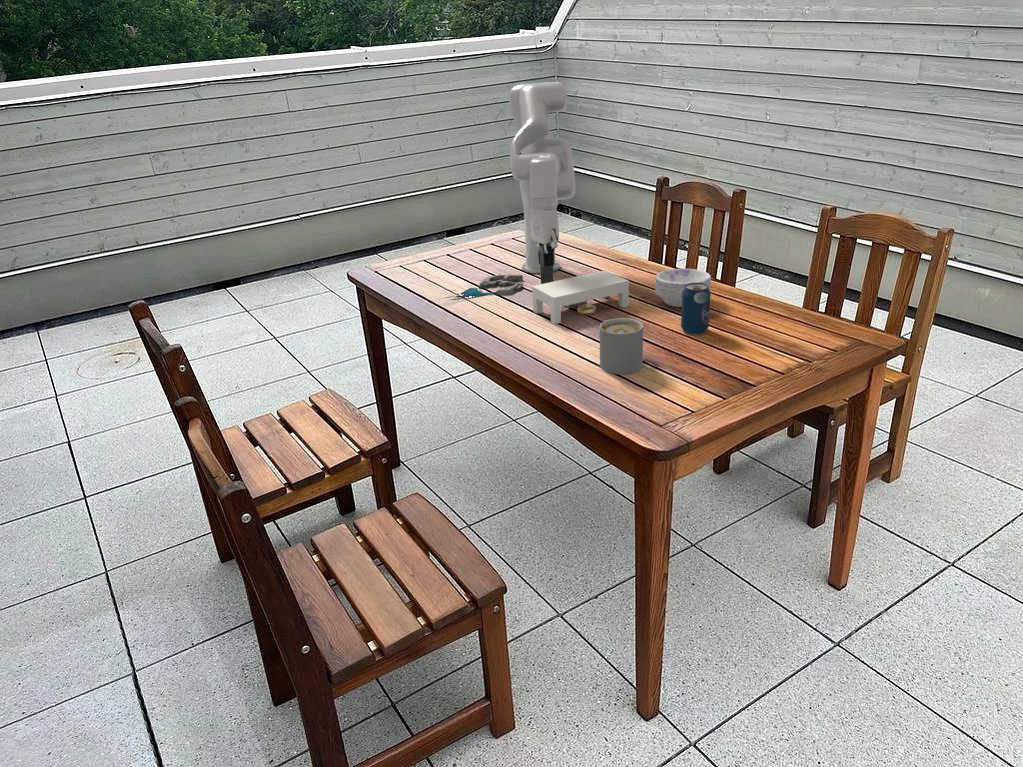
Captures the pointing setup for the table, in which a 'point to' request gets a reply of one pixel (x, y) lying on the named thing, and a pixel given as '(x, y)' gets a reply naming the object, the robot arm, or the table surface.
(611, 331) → the coffee mug
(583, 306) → the brass puck
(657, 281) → the paper bowls
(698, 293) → the soda can
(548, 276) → the blade tool
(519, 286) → the weapon
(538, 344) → the table surface
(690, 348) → the table surface
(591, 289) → the low stand
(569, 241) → the table surface
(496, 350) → the table surface
